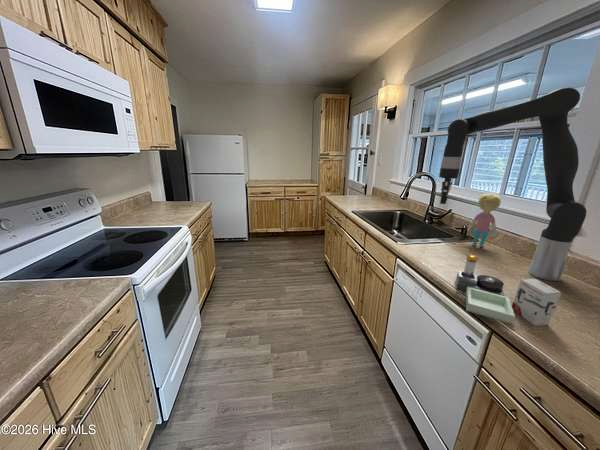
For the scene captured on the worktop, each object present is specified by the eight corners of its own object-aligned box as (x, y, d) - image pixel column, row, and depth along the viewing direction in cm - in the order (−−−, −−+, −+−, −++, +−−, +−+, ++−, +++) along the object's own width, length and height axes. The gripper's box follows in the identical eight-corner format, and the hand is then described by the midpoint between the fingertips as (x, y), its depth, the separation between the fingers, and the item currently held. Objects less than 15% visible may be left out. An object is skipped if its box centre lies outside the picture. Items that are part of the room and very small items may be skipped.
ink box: (509, 308, 82) (519, 278, 79) (522, 308, 83) (533, 277, 79) (535, 326, 74) (547, 293, 71) (549, 325, 75) (562, 292, 71)
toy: (492, 247, 135) (507, 194, 126) (492, 252, 128) (508, 196, 119) (464, 241, 143) (476, 191, 134) (462, 246, 136) (475, 193, 127)
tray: (506, 304, 84) (508, 297, 84) (512, 324, 75) (515, 316, 74) (465, 293, 90) (467, 286, 90) (466, 310, 81) (468, 303, 80)
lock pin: (471, 279, 95) (477, 255, 92) (472, 282, 92) (478, 259, 89) (461, 276, 97) (467, 253, 94) (461, 280, 94) (467, 256, 91)
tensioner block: (498, 289, 94) (502, 276, 92) (502, 302, 86) (506, 288, 84) (456, 278, 101) (459, 266, 99) (455, 289, 93) (459, 277, 91)
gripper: (459, 168, 102) (452, 206, 107) (460, 166, 113) (453, 200, 118) (439, 167, 106) (432, 203, 111) (441, 166, 117) (435, 199, 122)
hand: (443, 202), depth 114 cm, fingers open, 8 cm apart
